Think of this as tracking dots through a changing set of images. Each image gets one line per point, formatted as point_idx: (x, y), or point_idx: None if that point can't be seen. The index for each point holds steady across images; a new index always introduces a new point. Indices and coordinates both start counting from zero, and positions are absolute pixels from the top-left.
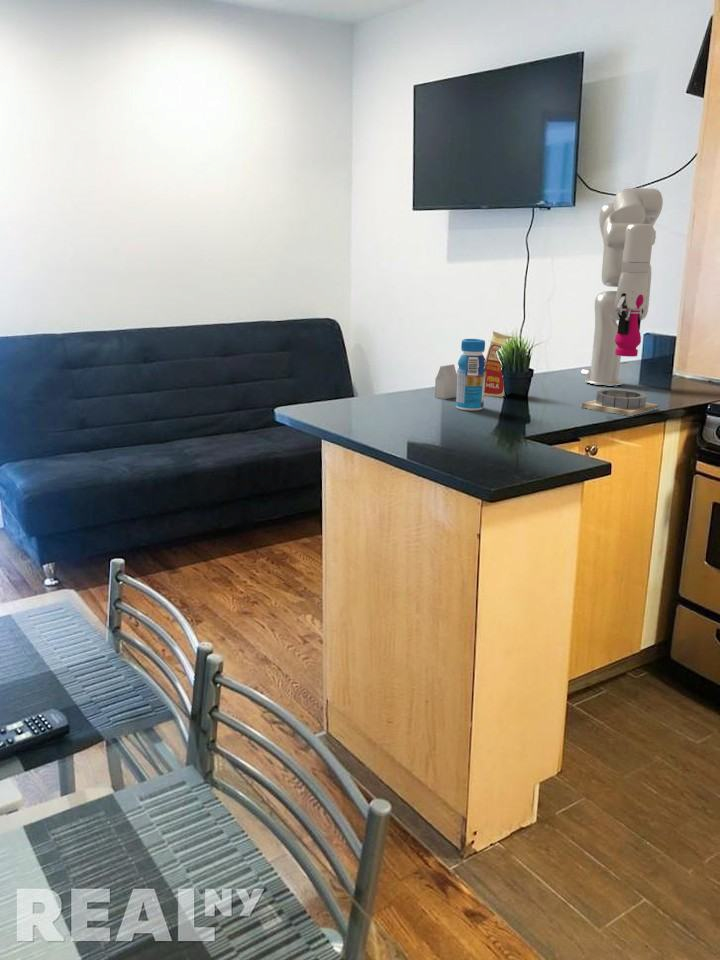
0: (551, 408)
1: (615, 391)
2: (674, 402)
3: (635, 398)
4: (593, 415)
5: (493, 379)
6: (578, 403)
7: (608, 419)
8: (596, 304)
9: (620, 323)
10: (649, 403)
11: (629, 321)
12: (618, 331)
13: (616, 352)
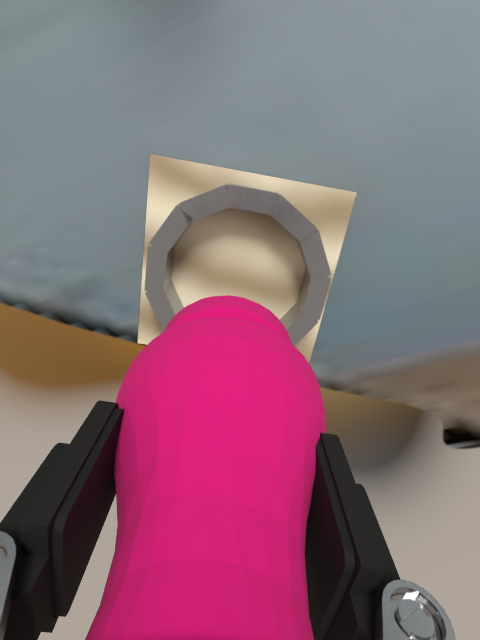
0: (54, 53)
1: (298, 238)
2: (459, 367)
3: None
4: (71, 240)
5: None
6: (231, 103)
7: (56, 298)
8: None
9: (12, 511)
10: (310, 344)
11: (48, 615)
12: (92, 416)
13: (170, 321)
